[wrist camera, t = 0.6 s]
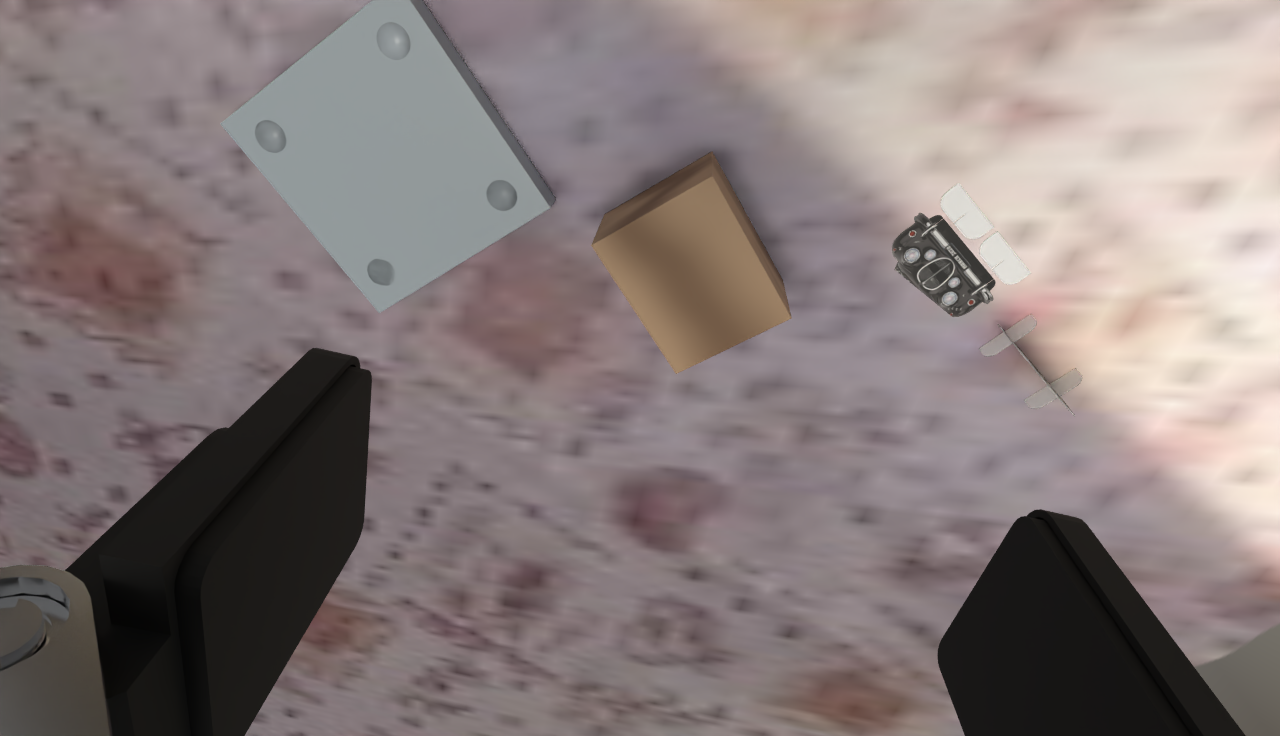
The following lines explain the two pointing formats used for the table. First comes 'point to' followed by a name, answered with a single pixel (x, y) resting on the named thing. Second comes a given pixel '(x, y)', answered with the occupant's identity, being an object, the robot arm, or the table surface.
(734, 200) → the walnut brick
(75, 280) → the table surface
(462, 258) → the build plate
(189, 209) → the table surface
